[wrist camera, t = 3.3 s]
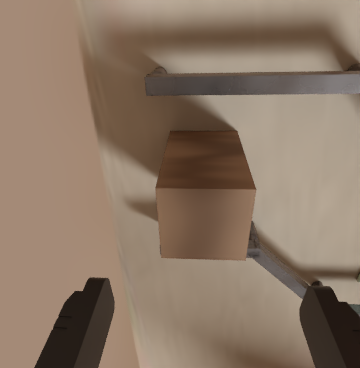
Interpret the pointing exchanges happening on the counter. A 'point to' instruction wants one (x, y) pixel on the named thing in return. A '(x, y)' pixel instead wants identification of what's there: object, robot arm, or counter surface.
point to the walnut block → (204, 196)
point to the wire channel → (256, 85)
